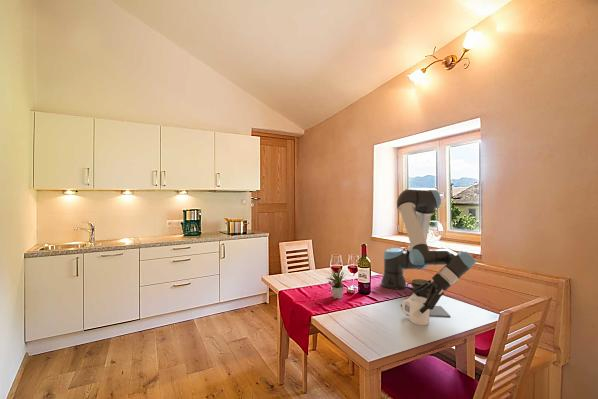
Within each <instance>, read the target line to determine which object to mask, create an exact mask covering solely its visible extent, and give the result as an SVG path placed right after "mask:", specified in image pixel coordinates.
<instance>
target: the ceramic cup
mask: <svg viewBox="0 0 598 399" xmlns="http://www.w3.org/2000/svg"><path fill="white" fill-rule="evenodd" d="M427 281H428V280H427V279H420V278H415V279H412V280H411V282H408V283H406V288H407V289H409V290H410V291H411V292H412V294H413V293H414V292H415V291H414V289H416V288H418V287H419V286H421V285H423V284H424V283H426V282H427ZM409 285H411V287H412V288H410V287H409ZM428 295H429V293H426V294H423V295H420V297H424V298H426V299H427V298H428Z"/></svg>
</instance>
